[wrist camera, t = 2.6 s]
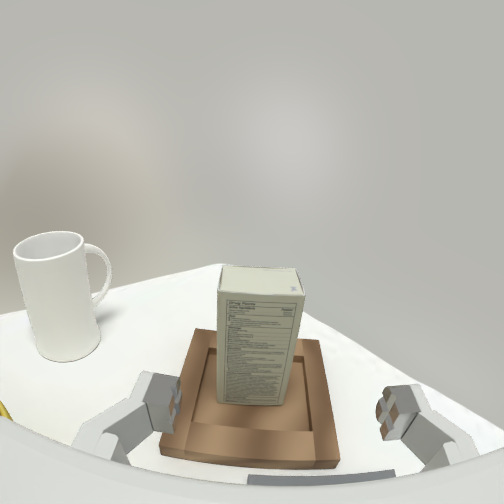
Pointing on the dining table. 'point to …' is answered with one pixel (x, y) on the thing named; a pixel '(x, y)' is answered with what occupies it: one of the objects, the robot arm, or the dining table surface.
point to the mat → (318, 479)
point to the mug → (60, 293)
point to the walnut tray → (254, 416)
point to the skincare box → (256, 333)
